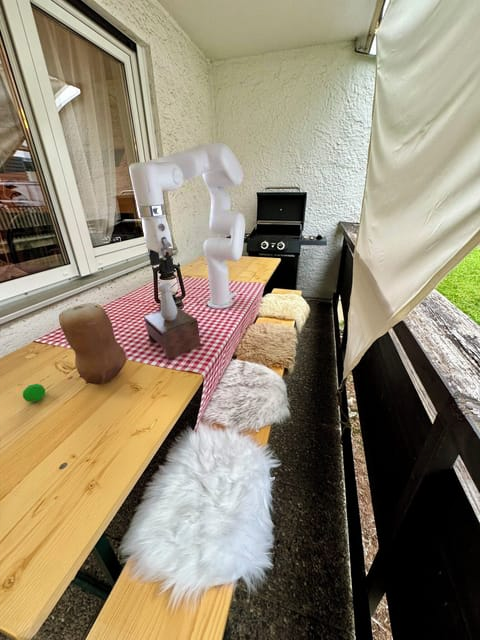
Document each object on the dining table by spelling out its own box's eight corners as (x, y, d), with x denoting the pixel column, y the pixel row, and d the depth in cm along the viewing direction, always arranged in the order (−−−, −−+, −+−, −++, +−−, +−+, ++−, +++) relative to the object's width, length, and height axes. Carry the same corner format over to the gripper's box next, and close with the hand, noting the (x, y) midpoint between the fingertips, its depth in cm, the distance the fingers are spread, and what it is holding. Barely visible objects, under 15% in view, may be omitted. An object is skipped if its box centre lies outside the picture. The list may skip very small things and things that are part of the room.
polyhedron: (24, 408, 71) (17, 395, 69) (29, 396, 75) (22, 383, 73) (46, 402, 73) (39, 389, 71) (49, 390, 77) (43, 378, 74)
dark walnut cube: (179, 329, 106) (175, 305, 101) (200, 345, 95) (197, 319, 90) (149, 341, 99) (143, 316, 94) (168, 360, 88) (163, 333, 83)
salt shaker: (174, 322, 89) (168, 287, 83) (158, 321, 90) (151, 286, 84) (180, 314, 94) (175, 280, 88) (166, 313, 95) (160, 280, 89)
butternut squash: (98, 363, 88) (73, 296, 76) (136, 363, 87) (117, 295, 75) (73, 393, 75) (39, 318, 63) (118, 393, 75) (92, 318, 63)
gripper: (177, 212, 72) (185, 271, 80) (151, 208, 84) (161, 260, 92) (152, 215, 68) (163, 277, 76) (128, 211, 79) (140, 265, 88)
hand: (162, 268), depth 84 cm, fingers open, 9 cm apart
